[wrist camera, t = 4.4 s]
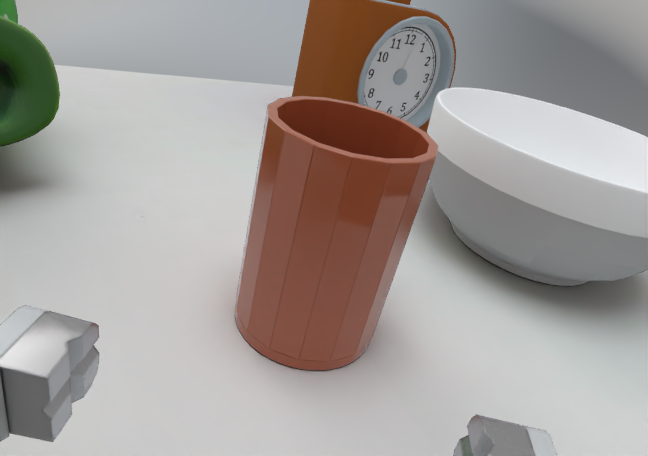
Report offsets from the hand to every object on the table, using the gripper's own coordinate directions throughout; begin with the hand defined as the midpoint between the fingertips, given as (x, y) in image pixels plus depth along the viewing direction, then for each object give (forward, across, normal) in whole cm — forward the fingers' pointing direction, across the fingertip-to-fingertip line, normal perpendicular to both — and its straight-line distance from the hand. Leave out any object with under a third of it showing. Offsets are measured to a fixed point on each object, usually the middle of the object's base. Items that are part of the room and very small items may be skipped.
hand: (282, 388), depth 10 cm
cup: (+11, 0, +8) cm, 14 cm away
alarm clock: (+44, -2, +8) cm, 45 cm away
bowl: (+26, -15, +8) cm, 31 cm away
